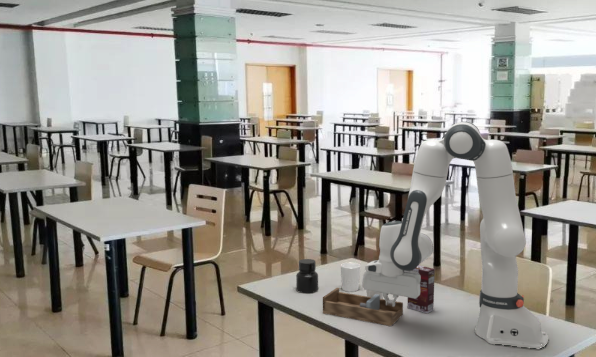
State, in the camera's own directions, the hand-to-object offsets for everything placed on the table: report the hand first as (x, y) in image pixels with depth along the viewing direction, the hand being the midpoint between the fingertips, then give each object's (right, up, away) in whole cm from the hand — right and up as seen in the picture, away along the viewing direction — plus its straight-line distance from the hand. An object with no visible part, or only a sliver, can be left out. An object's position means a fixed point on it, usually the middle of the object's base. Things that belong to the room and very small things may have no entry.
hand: (390, 305), depth 205 cm
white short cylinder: (-3, -3, +17) cm, 17 cm away
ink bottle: (-28, -1, +33) cm, 43 cm away
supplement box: (+13, -4, +10) cm, 17 cm away
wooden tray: (-9, -4, +6) cm, 12 cm away
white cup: (-11, -1, +33) cm, 35 cm away
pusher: (-7, -3, +5) cm, 9 cm away
